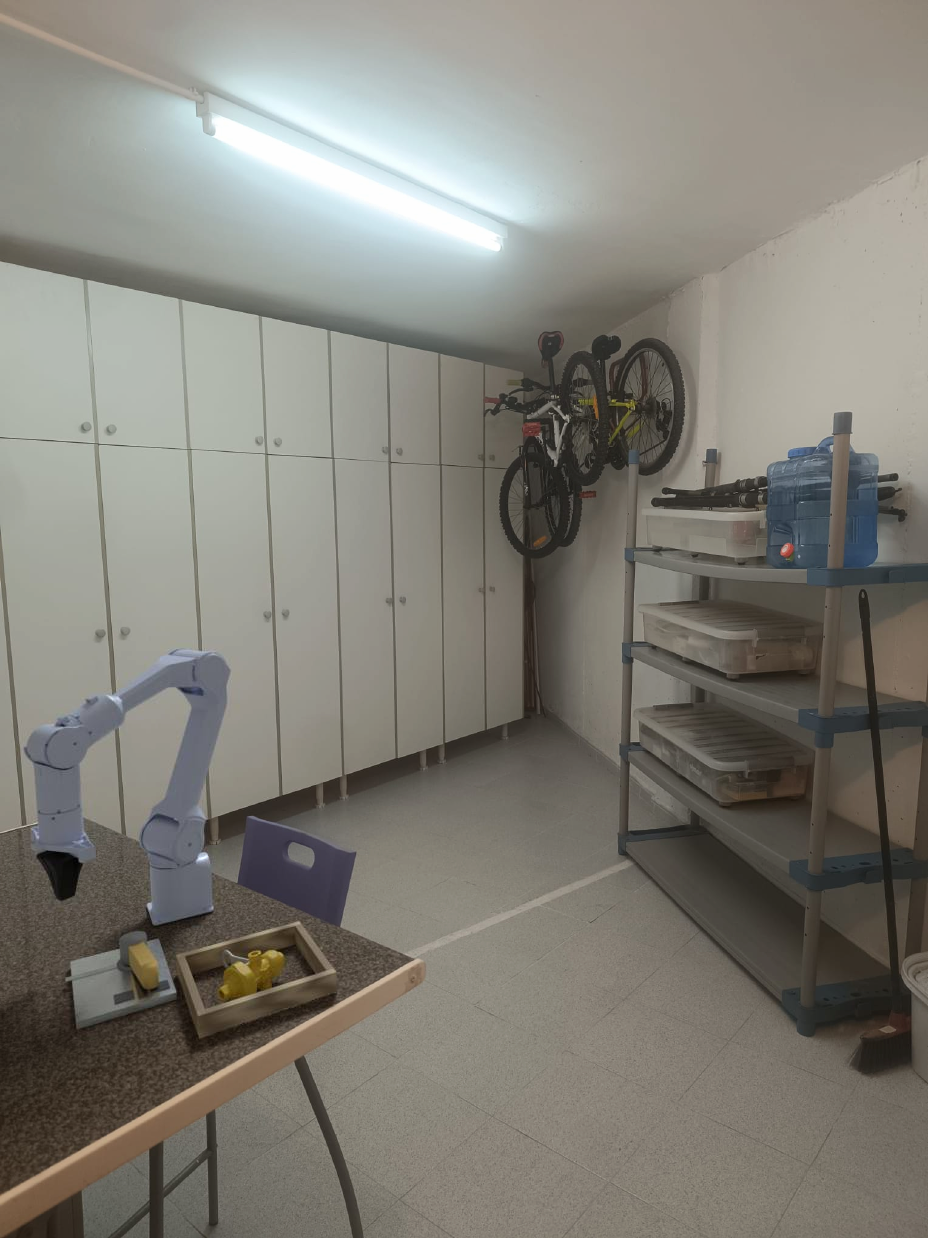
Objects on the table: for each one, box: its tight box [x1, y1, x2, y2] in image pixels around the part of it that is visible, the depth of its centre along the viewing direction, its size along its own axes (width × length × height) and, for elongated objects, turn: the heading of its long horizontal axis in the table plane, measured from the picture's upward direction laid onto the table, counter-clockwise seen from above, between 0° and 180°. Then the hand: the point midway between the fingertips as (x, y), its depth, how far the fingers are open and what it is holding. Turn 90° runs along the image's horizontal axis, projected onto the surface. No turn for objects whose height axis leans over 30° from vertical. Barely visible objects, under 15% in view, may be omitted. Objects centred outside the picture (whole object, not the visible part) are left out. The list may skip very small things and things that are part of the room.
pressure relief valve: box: [217, 950, 286, 1002], centre depth 101 cm, size 6×12×10 cm
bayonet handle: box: [118, 930, 159, 989], centre depth 103 cm, size 11×4×3 cm, turn 39°
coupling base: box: [64, 938, 178, 1030], centre depth 102 cm, size 13×16×1 cm
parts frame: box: [175, 921, 338, 1040], centre depth 102 cm, size 18×16×3 cm
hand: (65, 897), depth 107 cm, fingers closed
